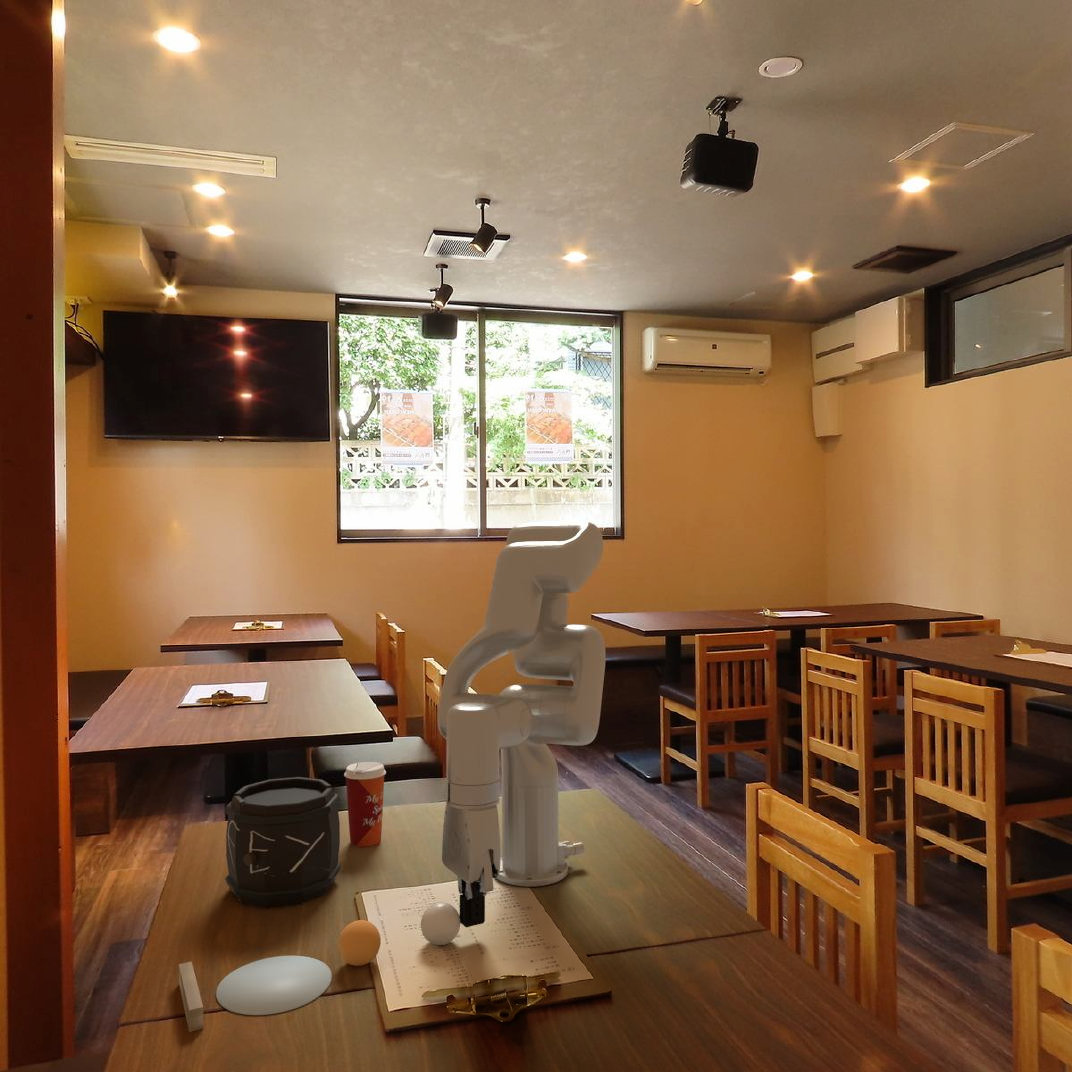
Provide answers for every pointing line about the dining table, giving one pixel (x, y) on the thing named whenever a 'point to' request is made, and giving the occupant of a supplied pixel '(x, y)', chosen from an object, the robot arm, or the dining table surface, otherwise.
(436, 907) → the cue ball
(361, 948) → the object ball
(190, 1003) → the rail
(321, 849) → the dark grey barrel
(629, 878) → the dining table surface
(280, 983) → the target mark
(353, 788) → the paper cup
